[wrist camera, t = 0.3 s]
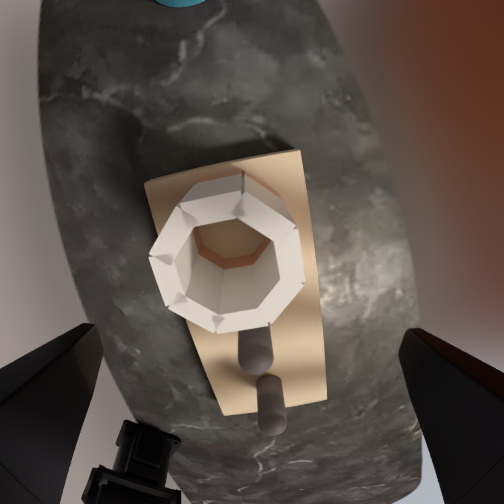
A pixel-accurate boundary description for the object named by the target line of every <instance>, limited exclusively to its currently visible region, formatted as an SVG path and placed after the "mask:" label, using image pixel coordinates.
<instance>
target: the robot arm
mask: <svg viewBox="0 0 504 504" xmlns="http://www.w3.org/2000/svg"><path fill="white" fill-rule="evenodd" d="M103 351H104V350H103V344H102V341H101V337H100V333H99V329H98V327H97V326H96V325H95V324H90V323H82V324H81V325H79V326H77V327H75V328H73V329H71V330H69V331H68V332H66V333H64V334H62V335H60V336H58V337H57V338H55V339H53V340H51V341H49V342H47V343H46V344H44V345H42V346H41V347H38V348H37V349H35V350H33V351H31V352H29V353H28V354H26V355H24V356H22V357H21V358H19V359H17V360H15V361H14V362H12V363H10V364H8V365H6V366H4V367H2V368H1V369H0V504H60V501H61V497H62V493H63V489H64V485H65V481H66V477H67V474H68V471H69V467H70V464H71V460H72V457H73V454H74V450H75V447H76V444H77V441H78V437H79V434H80V431H81V428H82V425H83V422H84V419H85V417H86V414H87V411H88V408H89V405H90V402H91V399H92V396H93V392H94V388H95V384H96V380H97V376H98V372H99V368H100V365H101V360H102V357H103ZM398 356H399V361H400V364H401V367H402V371H403V375H404V378H405V382H406V385H407V389H408V393H409V396H410V399H411V402H412V405H413V408H414V410H415V413H416V416H417V418H418V421H419V424H420V427H421V430H422V432H423V435H424V438H425V441H426V444H427V447H428V450H429V453H430V456H431V459H432V462H433V465H434V469H435V472H436V475H437V479H438V482H439V485H440V489H441V492H442V496H443V500H444V503H445V504H504V373H503V372H501V371H499V370H498V369H496V368H494V367H492V366H490V365H488V364H487V363H485V362H483V361H481V360H479V359H477V358H475V357H473V356H472V355H470V354H468V353H466V352H464V351H462V350H460V349H459V348H457V347H455V346H453V345H451V344H449V343H447V342H445V341H443V340H442V339H440V338H438V337H436V336H434V335H432V334H430V333H428V332H426V331H425V330H423V329H421V328H409V329H407V330H406V332H405V334H404V337H403V340H402V343H401V345H400V348H399V352H398ZM116 445H117V446H118V447H119V449H118V452H117V455H116V459H115V462H114V465H113V469H112V470H111V469H108V468H105V467H104V466H102V465H99V468H92V471H91V474H90V477H89V480H88V482H87V485H86V487H85V489H84V492H83V494H82V498H81V499H82V501H83V503H84V504H181V490H177V489H176V490H174V489H169V488H166V487H165V484H166V478H167V472H168V466H169V460H170V458H171V457H172V455H173V454H174V453H175V451H176V450H177V449H178V447H179V446H180V445H181V439H179V438H176V437H173V436H170V435H167V434H164V433H161V432H158V431H156V430H153V429H150V428H147V427H145V426H142V425H140V424H137V423H134V422H132V421H129V420H124V422H123V425H122V427H121V430H120V433H119V436H118V438H117V441H116Z"/></svg>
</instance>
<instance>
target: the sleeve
mask: <svg viewBox="0 0 504 504" xmlns="http://www.w3.org/2000/svg"><path fill="white" fill-rule="evenodd" d="M235 218H238V219H240V220H241V221H243V222H244V223H246V224H247V225H249V226H251V227H252V228H254V229H255V230H257V231H258V232H260V233H262V234H263V235H265V236H266V237H265V238H264V240H263V241H262V242H261V244H260V245H259V246H258V248H257V249H256V251H255V252H254V253H253V254H250V255H245V256H239V257H234V258H229V259H225V258H223V257H222V256H220V255H218V254H217V253H215V252H213V251H212V250H210V249H208V248H207V247H205V246H203V245H202V242H201V238H200V235H199V231H198V227H197V226H200V225H205V224H210V223H215V222H220V221H225V220H230V219H235ZM149 254H150V256H149V260H150V263H151V266H152V269H153V272H154V275H155V278H156V281H157V284H158V286H159V289H160V292H161V295H162V298H163V300H164V303H165V306H168V305H169V308H168V309H169V310H171V311H173V312H175V313H177V314H178V315H180V316H182V317H184V318H186V319H187V320H189V321H191V322H193V323H195V324H197V325H198V326H200V327H202V328H204V329H206V330H208V331H210V332H212V333H214V332H215V331H216V332H217V334H221V333H228V332H234V331H241V330H247V329H253V328H259V327H265V326H268V322H269V323H271V324H272V323H273V322H274V321H275V320H276V318H277V317H278V316H279V315H280V314H281V313H282V311H283V310H284V309H285V308H286V307H287V306H288V304H289V303H290V302H291V301H292V300H293V298H294V297H295V296H296V295H297V294H298V292H299V291H300V290H301V289H302V288H303V286H304V283H303V282H306V281H305V274H304V266H303V259H302V251H301V244H300V237H299V230H298V227H297V225H296V224H295V222H294V220H293V218H292V216H291V214H290V212H289V211H288V209H287V207H286V205H285V203H284V201H283V200H282V198H281V196H280V195H279V193H277V192H276V191H275V190H273V189H272V188H270V187H269V186H267V185H266V184H264V183H263V182H261V181H260V180H258V179H257V178H255V177H254V176H252V175H251V174H249V173H247V172H246V171H244V172H243V174H242V170H240V171H235V172H230V173H225V174H220V175H216V176H211V177H206V178H202V179H200V180H198V182H197V183H196V184H195V185H194V186H193V187H192V188H191V189H190V191H189V192H188V193H187V194H186V195H185V196H184V197H183V199H182V200H181V201H180V202H179V203H178V204H177V206H176V207H175V209H174V210H173V212H172V214H171V215H170V217H169V219H168V221H167V222H166V224H165V226H164V228H163V229H162V231H161V233H160V235H159V236H158V238H157V240H156V242H155V244H154V245H153V247H152V249H151V251H150V253H149Z"/></svg>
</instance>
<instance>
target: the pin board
mask: <svg viewBox="0 0 504 504" xmlns="http://www.w3.org/2000/svg"><path fill="white" fill-rule="evenodd" d="M240 170H242V174H243V172H244V171H246V172H247V173H249V174H251V175H252V176H254V177H255V178H257V179H258V180H260V181H261V182H263V183H264V184H266V185H267V186H269V187H270V188H272V189H273V190H275V191H276V192H277V193H279V195H280V196H281V198H282V200H283V201H284V203H285V205H286V207H287V209H288V211H289V212H290V214H291V216H292V218H293V220H294V222H295V224H296V225H297V227H298V230H299V237H300V244H301V251H302V259H303V266H304V274H305V281H306V282H303V283H304V286H303V288H302V289H301V290H300V291H299V292H298V294H297V295H296V296H295V297H294V298H293V300H292V301H291V302H290V303H289V304H288V306H287V307H286V308H285V309H284V310H283V311H282V313H281V314H280V315H279V316H278V317H277V318H276V320H275V321H274V322H273V323H272V324H271V323H269V322H268V326H265V327H259V328H253V329H247V330H241V331H234V332H228V333H221V334H217V332H216V331H215V332H214V333H212V332H210V331H208V330H206V329H204V328H202V327H200V326H198V325H197V324H195V323H193V322H191V321H189V320H187V319H186V318H185V319H186V322H187V325H188V327H189V330H190V333H191V335H192V338H193V341H194V343H195V346H196V349H197V351H198V354H199V356H200V359H201V362H202V364H203V367H204V369H205V372H206V374H207V377H208V379H209V381H210V384H211V386H212V389H213V391H214V393H215V396H216V398H217V400H218V403H219V405H220V407H221V410H222V412H223V414H224V416H225V415H234V414H243V413H251V412H258V425H259V428H260V430H261V431H262V432H263V433H264V434H266V435H269V436H276V435H279V434H281V433H282V432H283V431H284V430H285V429H286V426H287V416H286V409H285V407H291V406H296V405H302V404H307V403H312V402H317V401H321V400H326V399H327V389H326V371H325V356H324V342H323V329H322V317H321V306H320V296H319V286H318V276H317V267H316V259H315V250H314V242H313V234H312V226H311V219H310V212H309V205H308V198H307V191H306V184H305V178H304V171H303V165H302V159H301V153H300V150H297V149H292V150H286V151H280V152H274V153H268V154H262V155H257V156H252V157H246V158H241V159H236V160H231V161H226V162H222V163H217V164H212V165H208V166H203V167H199V168H195V169H190V170H186V171H182V172H178V173H174V174H170V175H166V176H162V177H158V178H154V179H151V180H149V181H147V182H146V183H144V187H145V191H146V194H147V198H148V202H149V205H150V209H151V213H152V216H153V220H154V223H155V227H156V230H157V234H158V236H159V235H160V233H161V231H162V229H163V228H164V226H165V224H166V222H167V221H168V219H169V217H170V215H171V214H172V212H173V210H174V209H175V207H176V206H177V204H178V203H179V202H180V201H181V200H182V199H183V197H184V196H185V195H186V194H187V193H188V192H189V191H190V189H191V188H192V187H193V186H194V185H195V184H196V183H197V182H198V180H200V179H202V178H206V177H211V176H216V175H220V174H225V173H230V172H235V171H240ZM197 227H198V231H199V235H200V238H201V242H202V245H203V246H205V247H207V248H208V249H210V250H212V251H213V252H215V253H217V254H218V255H220V256H222V257H223V258H225V259H229V258H234V257H239V256H245V255H250V254H253V253H254V252H255V251H256V249H257V248H258V246H259V245H260V244H261V242H262V241H263V240H264V238H265V237H266V236H265V235H263V234H262V233H260V232H258V231H257V230H255V229H254V228H252V227H251V226H249V225H247V224H246V223H244V222H243V221H241V220H240V219H238V218H235V219H230V220H225V221H220V222H215V223H210V224H205V225H200V226H197Z"/></svg>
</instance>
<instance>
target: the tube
mask: <svg viewBox="0 0 504 504" xmlns="http://www.w3.org/2000/svg"><path fill="white" fill-rule="evenodd" d="M156 1H157V2H159V3H161V4H163V5H166V6H170V7H187V6H192V5H195V4H198V3H201V2H203V1H205V0H156Z"/></svg>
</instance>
